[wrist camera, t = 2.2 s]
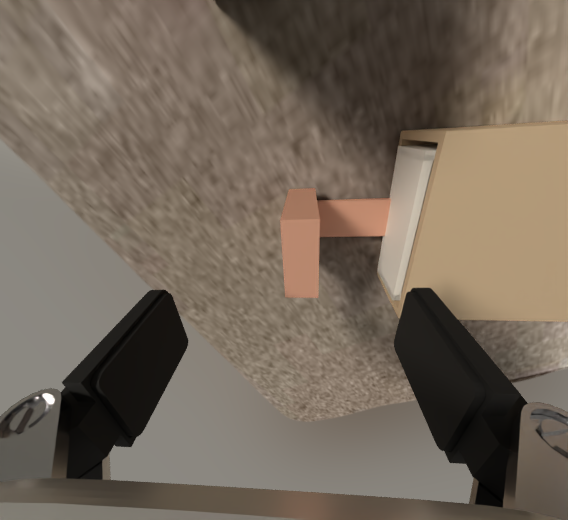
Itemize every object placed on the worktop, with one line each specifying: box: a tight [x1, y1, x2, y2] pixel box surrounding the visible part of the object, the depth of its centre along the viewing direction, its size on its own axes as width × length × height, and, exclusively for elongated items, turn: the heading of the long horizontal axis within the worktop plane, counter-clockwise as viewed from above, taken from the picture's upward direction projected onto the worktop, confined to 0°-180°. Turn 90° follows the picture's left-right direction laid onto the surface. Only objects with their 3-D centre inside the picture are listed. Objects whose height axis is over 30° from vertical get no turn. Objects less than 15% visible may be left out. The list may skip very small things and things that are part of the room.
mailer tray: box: [280, 144, 438, 300], centre depth 15 cm, size 27×10×7 cm, turn 93°
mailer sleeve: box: [377, 121, 568, 322], centre depth 15 cm, size 20×12×6 cm, turn 93°
